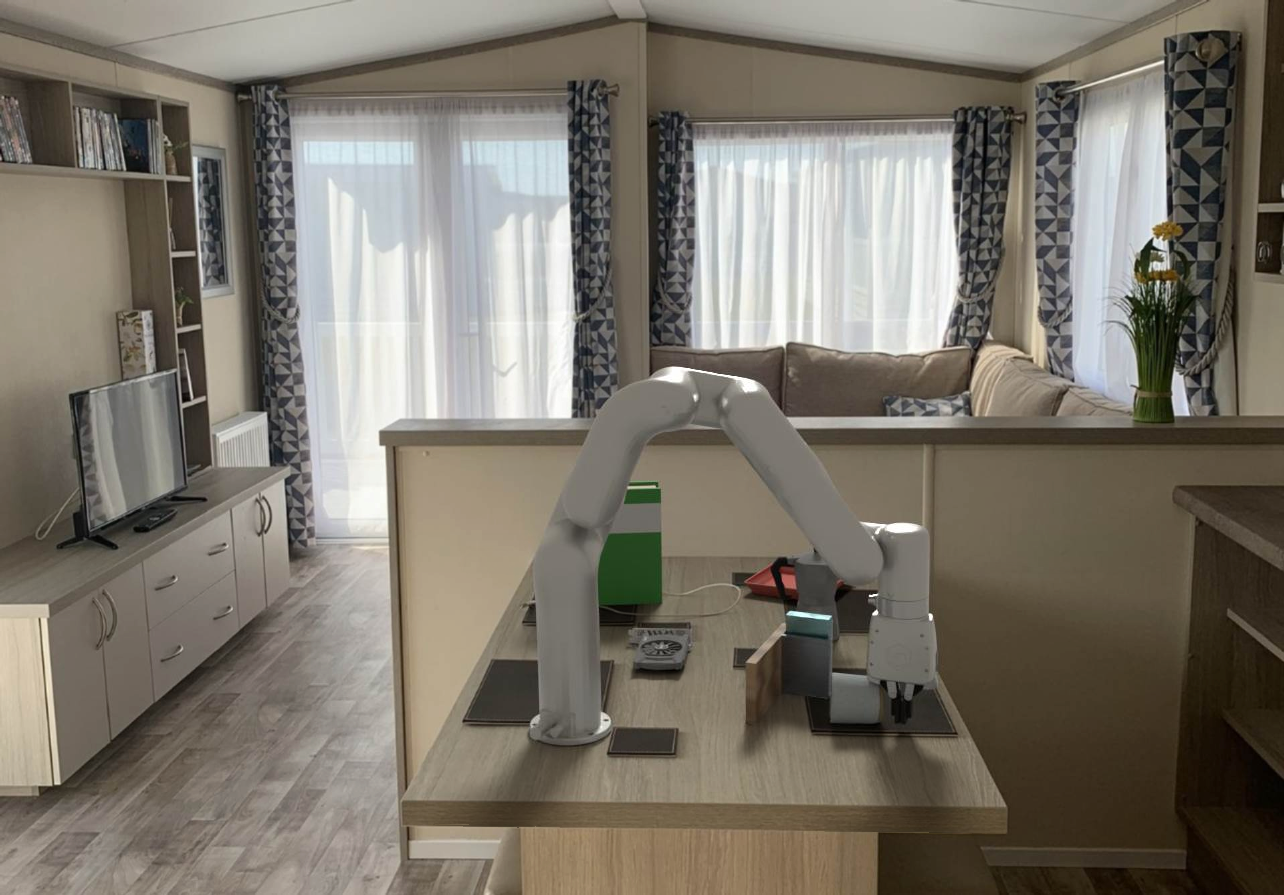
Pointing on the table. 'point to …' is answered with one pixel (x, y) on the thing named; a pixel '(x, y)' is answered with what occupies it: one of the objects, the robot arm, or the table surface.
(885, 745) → the table surface
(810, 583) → the coffeepot
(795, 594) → the plant saucer
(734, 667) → the table surface
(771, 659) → the wooden board
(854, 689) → the ceramic mug
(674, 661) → the graphics card
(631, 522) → the hardback book
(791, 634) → the bookend and books
